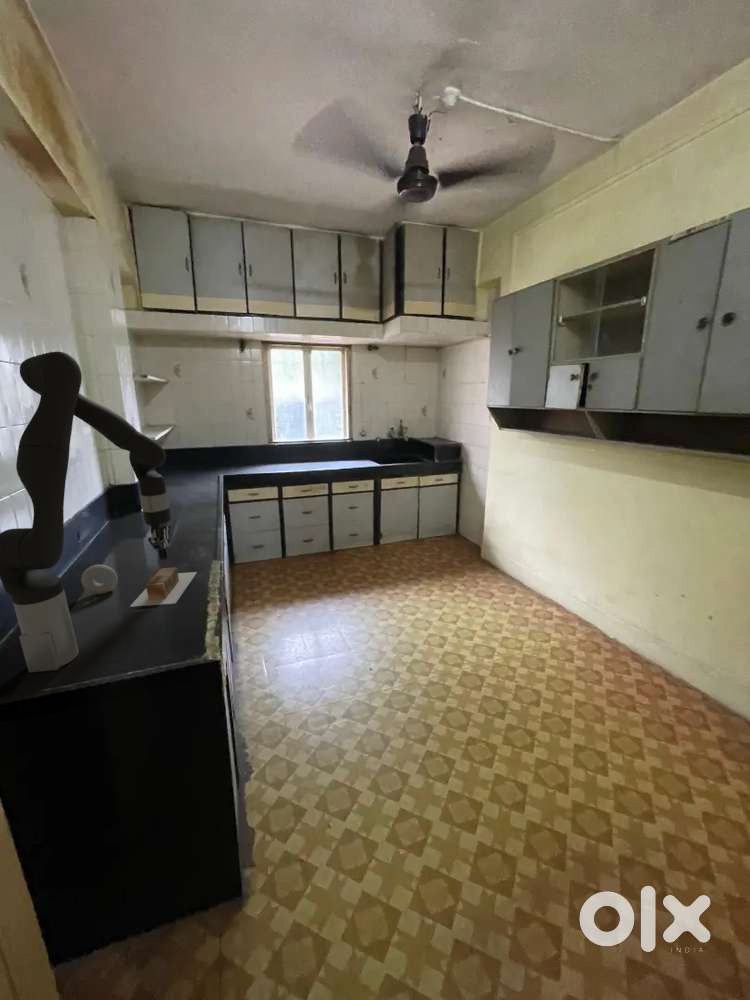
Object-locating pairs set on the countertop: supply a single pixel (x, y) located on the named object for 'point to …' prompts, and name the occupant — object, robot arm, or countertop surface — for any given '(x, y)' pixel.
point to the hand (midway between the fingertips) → (164, 558)
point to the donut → (95, 587)
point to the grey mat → (172, 597)
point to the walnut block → (162, 583)
